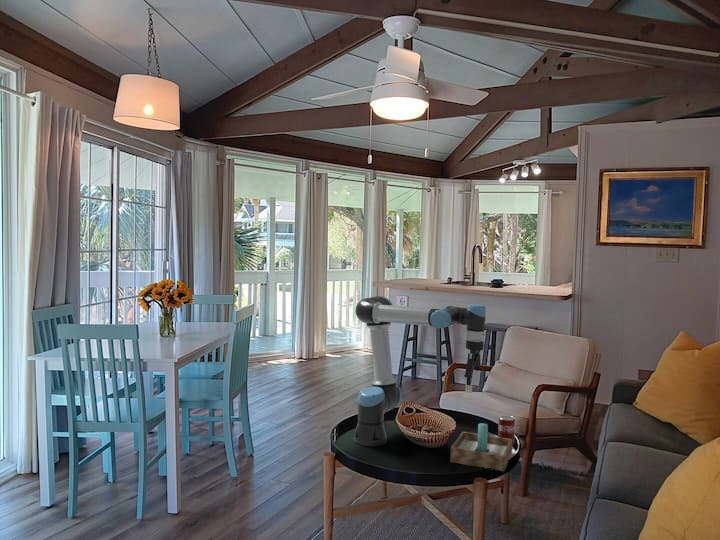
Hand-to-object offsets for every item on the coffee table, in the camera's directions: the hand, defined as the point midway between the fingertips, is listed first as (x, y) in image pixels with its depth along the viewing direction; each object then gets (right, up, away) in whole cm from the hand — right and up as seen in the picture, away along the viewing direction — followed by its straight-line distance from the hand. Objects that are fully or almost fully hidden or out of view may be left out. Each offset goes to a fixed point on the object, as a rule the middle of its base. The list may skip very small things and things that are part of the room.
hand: (472, 388), depth 242 cm
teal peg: (+3, -28, -5) cm, 29 cm away
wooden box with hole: (+3, -28, -5) cm, 29 cm away
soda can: (+18, -28, +12) cm, 35 cm away
